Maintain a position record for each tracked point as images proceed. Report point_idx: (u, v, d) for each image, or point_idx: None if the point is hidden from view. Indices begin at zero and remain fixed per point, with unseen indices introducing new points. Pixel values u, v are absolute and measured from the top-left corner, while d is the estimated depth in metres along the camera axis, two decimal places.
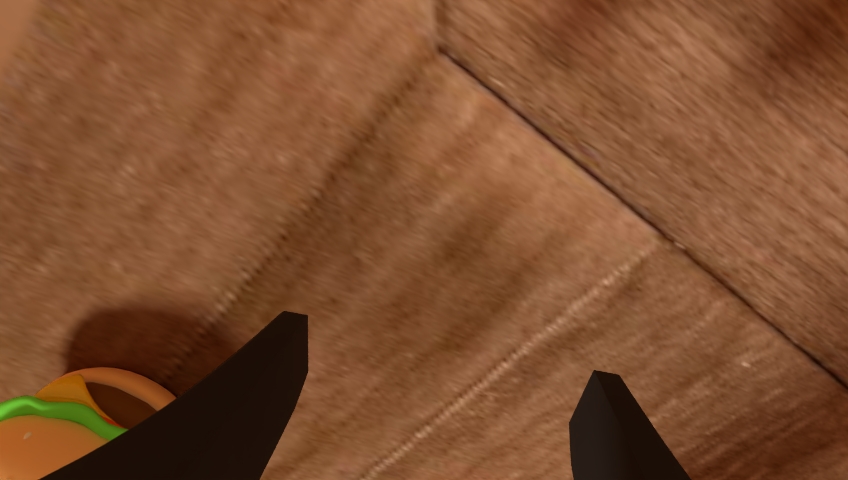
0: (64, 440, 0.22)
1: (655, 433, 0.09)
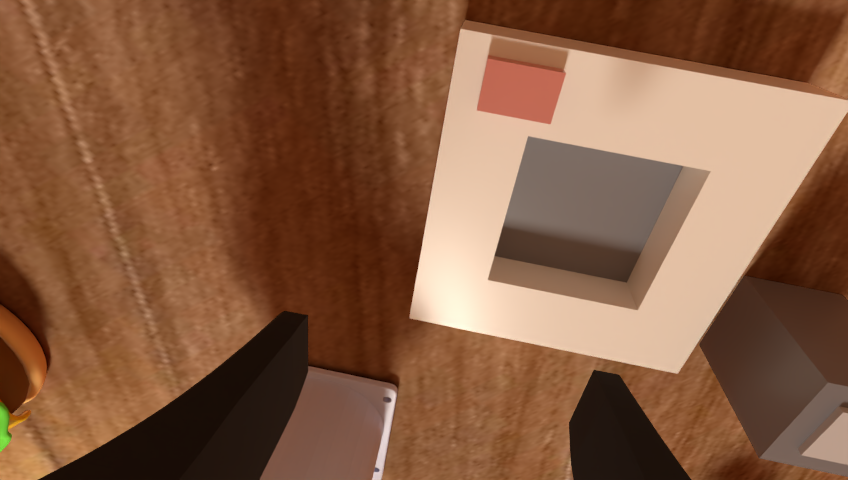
0: None
1: (655, 433, 0.09)
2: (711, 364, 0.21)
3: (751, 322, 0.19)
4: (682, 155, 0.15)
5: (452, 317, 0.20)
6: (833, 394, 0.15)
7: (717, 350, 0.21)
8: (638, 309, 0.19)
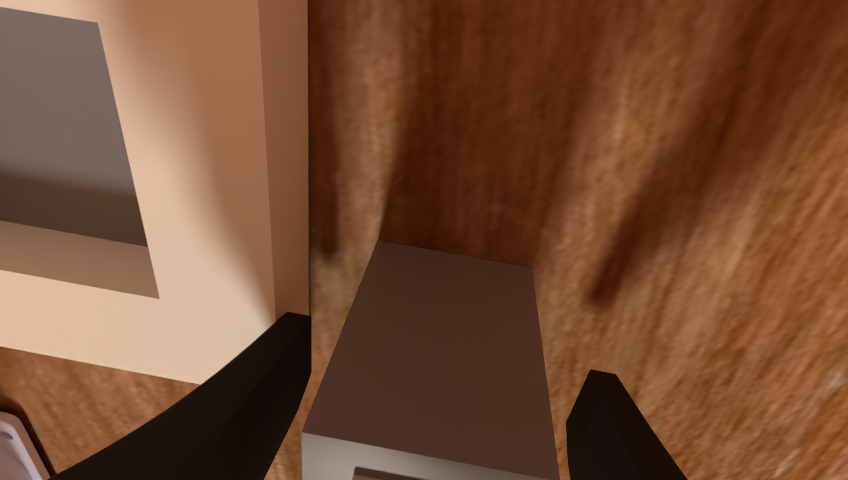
0: None
1: (651, 433, 0.09)
2: None
3: None
4: None
5: None
6: (328, 454, 0.08)
7: None
8: (159, 298, 0.11)
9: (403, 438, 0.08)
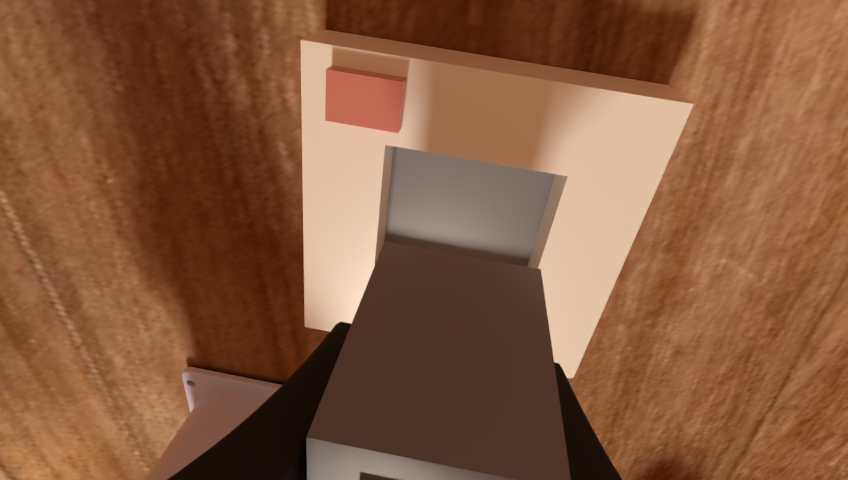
0: None
1: (584, 420, 0.09)
2: None
3: None
4: (537, 161, 0.15)
5: None
6: (333, 460, 0.08)
7: None
8: None
9: (410, 444, 0.07)
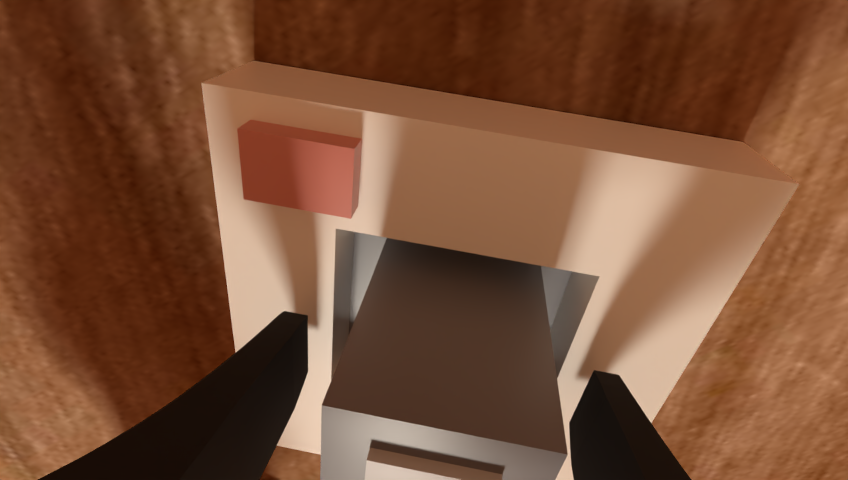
0: None
1: (655, 433, 0.09)
2: None
3: None
4: (555, 255, 0.10)
5: (299, 440, 0.15)
6: (346, 427, 0.08)
7: None
8: None
9: (418, 412, 0.08)
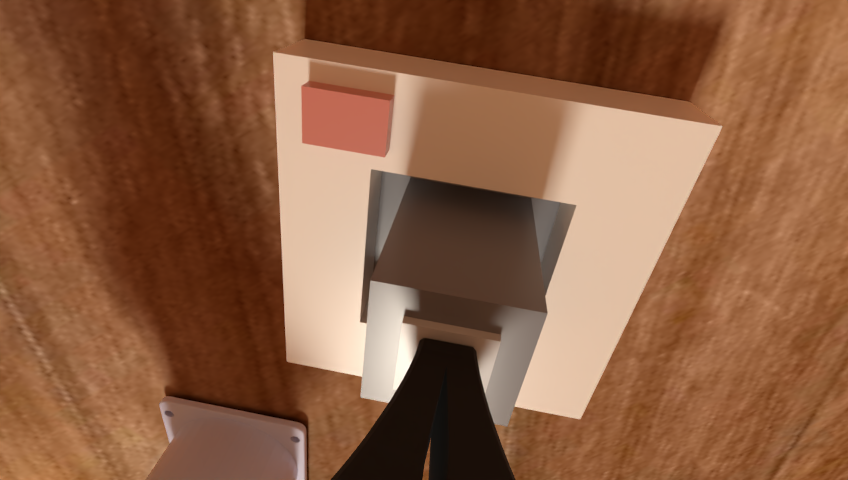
0: None
1: (480, 399, 0.09)
2: None
3: None
4: (542, 188, 0.14)
5: (331, 360, 0.19)
6: (387, 298, 0.11)
7: None
8: None
9: (439, 286, 0.11)
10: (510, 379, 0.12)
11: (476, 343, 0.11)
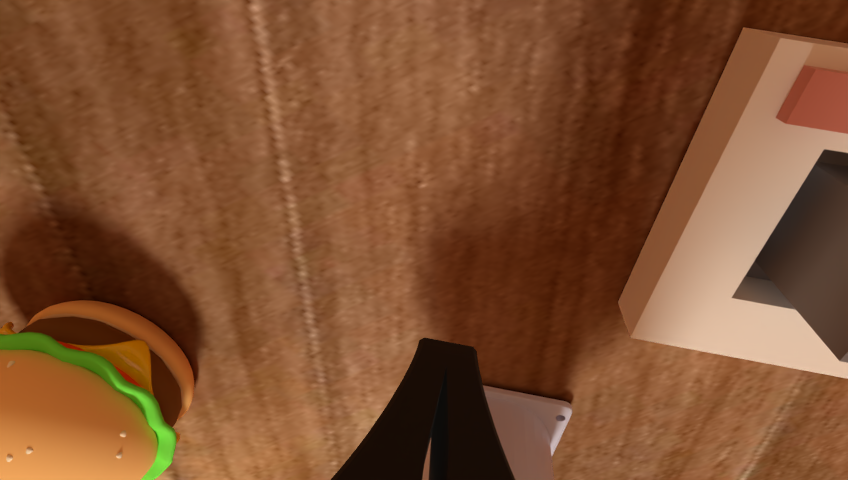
0: None
1: (481, 399, 0.09)
2: (766, 271, 0.18)
3: (820, 209, 0.16)
4: None
5: (679, 336, 0.19)
6: None
7: (774, 253, 0.18)
8: None
9: None
10: None
11: None
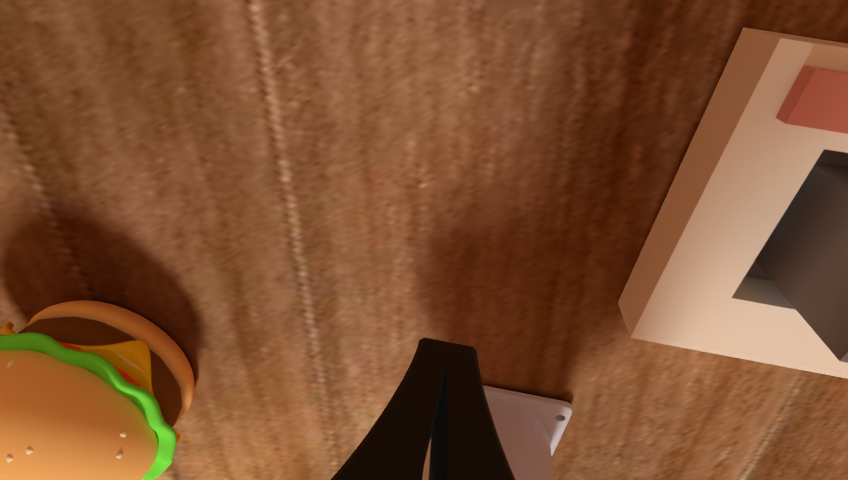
0: None
1: (481, 399, 0.09)
2: (766, 271, 0.18)
3: (820, 209, 0.16)
4: None
5: (679, 336, 0.19)
6: None
7: (774, 253, 0.18)
8: None
9: None
10: None
11: None
